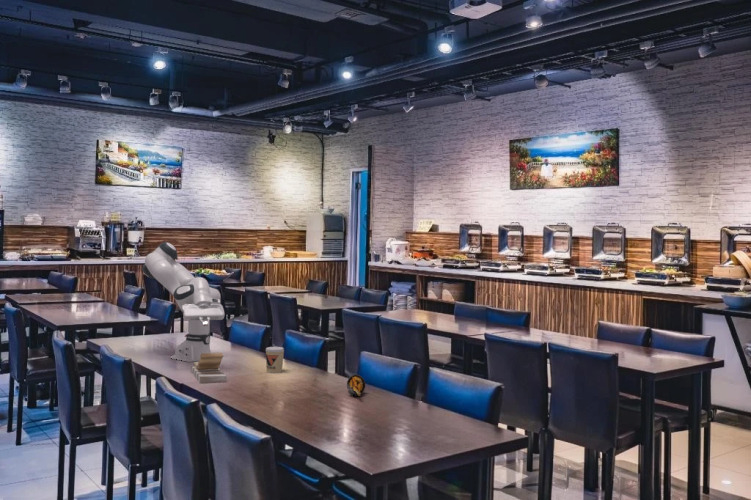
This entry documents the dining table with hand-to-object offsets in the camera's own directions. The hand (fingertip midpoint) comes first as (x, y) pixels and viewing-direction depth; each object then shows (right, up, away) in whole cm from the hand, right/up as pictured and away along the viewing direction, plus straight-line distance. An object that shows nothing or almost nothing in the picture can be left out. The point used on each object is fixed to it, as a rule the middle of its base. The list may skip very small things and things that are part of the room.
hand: (205, 325), depth 342 cm
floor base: (+3, -24, -8) cm, 25 cm away
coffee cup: (+33, -25, +8) cm, 42 cm away
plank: (+6, -17, -13) cm, 22 cm away
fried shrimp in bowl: (+76, -27, -39) cm, 90 cm away
